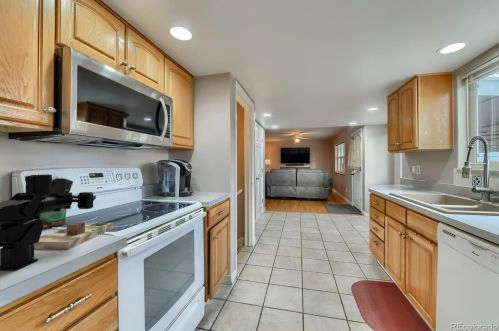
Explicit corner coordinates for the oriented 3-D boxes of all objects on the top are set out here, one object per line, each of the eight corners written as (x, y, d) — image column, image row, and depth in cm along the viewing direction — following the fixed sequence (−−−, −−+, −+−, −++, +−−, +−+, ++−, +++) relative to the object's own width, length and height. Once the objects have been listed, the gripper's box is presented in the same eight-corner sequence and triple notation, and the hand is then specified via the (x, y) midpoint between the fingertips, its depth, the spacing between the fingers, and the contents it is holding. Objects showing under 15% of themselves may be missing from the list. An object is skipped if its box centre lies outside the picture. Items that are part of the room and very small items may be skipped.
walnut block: (76, 235, 83) (76, 225, 82) (66, 235, 83) (66, 225, 83) (85, 232, 87) (85, 222, 86) (75, 231, 87) (75, 222, 87)
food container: (47, 230, 95) (47, 208, 95) (36, 229, 97) (36, 207, 97) (74, 223, 108) (74, 203, 107) (65, 222, 109) (65, 202, 109)
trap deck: (68, 249, 76) (68, 240, 75) (24, 248, 76) (24, 240, 76) (113, 228, 99) (113, 222, 99) (79, 227, 100) (79, 221, 100)
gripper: (75, 180, 73) (106, 177, 89) (22, 180, 73) (63, 177, 89) (75, 213, 73) (106, 204, 89) (22, 212, 73) (62, 203, 89)
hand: (84, 196), depth 89 cm, fingers open, 9 cm apart
